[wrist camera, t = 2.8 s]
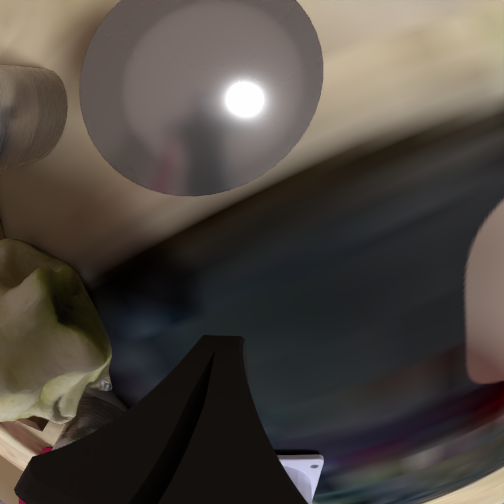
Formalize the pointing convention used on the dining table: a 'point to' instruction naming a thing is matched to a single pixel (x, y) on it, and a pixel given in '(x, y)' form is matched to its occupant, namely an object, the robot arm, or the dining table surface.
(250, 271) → the dining table surface
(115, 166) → the grey metal cylinder
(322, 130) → the dining table surface
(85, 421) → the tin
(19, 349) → the pale green lumpy ball
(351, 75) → the dining table surface
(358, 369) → the dining table surface
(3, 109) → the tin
